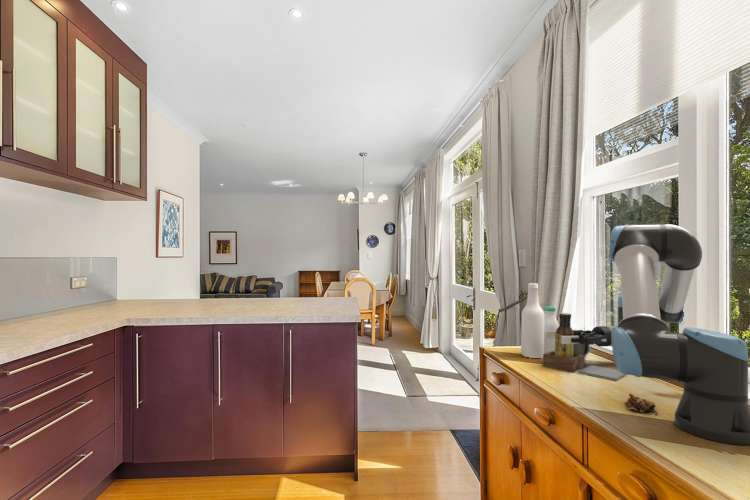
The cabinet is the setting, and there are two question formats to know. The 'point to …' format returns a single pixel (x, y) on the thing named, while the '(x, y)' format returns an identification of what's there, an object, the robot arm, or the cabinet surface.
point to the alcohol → (532, 325)
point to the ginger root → (640, 404)
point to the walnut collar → (564, 361)
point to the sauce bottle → (564, 330)
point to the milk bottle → (549, 328)
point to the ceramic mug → (581, 349)
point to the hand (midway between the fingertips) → (553, 337)
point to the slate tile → (602, 373)
